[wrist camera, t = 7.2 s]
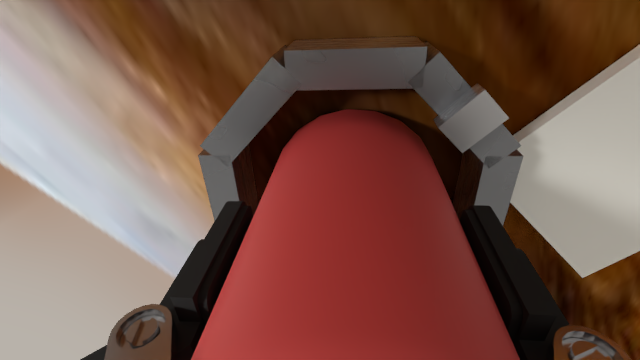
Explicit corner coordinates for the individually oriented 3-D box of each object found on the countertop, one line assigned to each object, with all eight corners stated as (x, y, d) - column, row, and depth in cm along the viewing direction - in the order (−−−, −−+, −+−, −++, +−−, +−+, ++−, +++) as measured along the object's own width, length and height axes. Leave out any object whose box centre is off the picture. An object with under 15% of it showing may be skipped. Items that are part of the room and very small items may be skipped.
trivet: (474, 162, 14) (479, 169, 13) (701, -1, 10) (719, 1, 10) (575, 268, 16) (582, 277, 15) (787, 164, 13) (806, 171, 12)
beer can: (324, 71, 12) (172, 506, 2) (466, 154, 14) (815, 696, 3) (255, 197, 16) (61, 615, 5) (374, 255, 17) (406, 692, 6)
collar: (177, 178, 15) (142, 215, 13) (359, -47, 10) (360, -56, 8) (349, 302, 19) (348, 351, 16) (551, 175, 14) (594, 218, 11)
